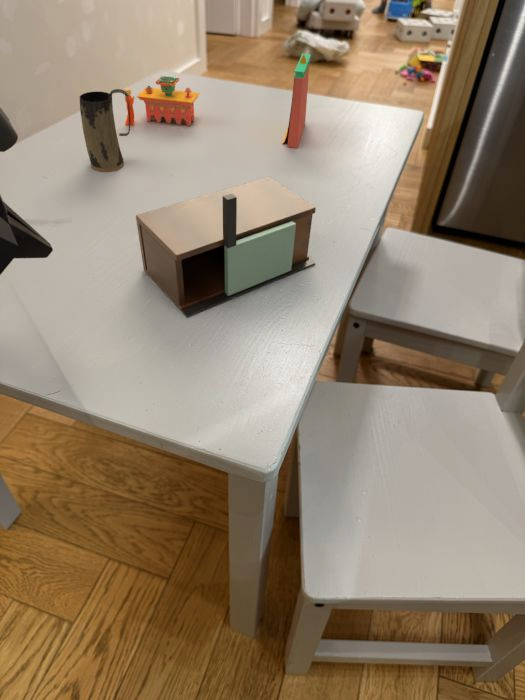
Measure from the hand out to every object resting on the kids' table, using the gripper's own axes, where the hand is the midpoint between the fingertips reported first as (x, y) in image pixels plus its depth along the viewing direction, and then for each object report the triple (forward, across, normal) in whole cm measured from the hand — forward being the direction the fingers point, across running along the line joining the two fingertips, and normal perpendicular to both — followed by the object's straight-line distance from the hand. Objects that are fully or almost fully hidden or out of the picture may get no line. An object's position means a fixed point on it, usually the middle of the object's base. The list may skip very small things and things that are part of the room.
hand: (49, 251), depth 44 cm
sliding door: (+25, +1, -9) cm, 27 cm away
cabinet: (+25, +7, -7) cm, 27 cm away
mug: (+25, +42, -2) cm, 49 cm away
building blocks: (+42, +50, -20) cm, 68 cm away
